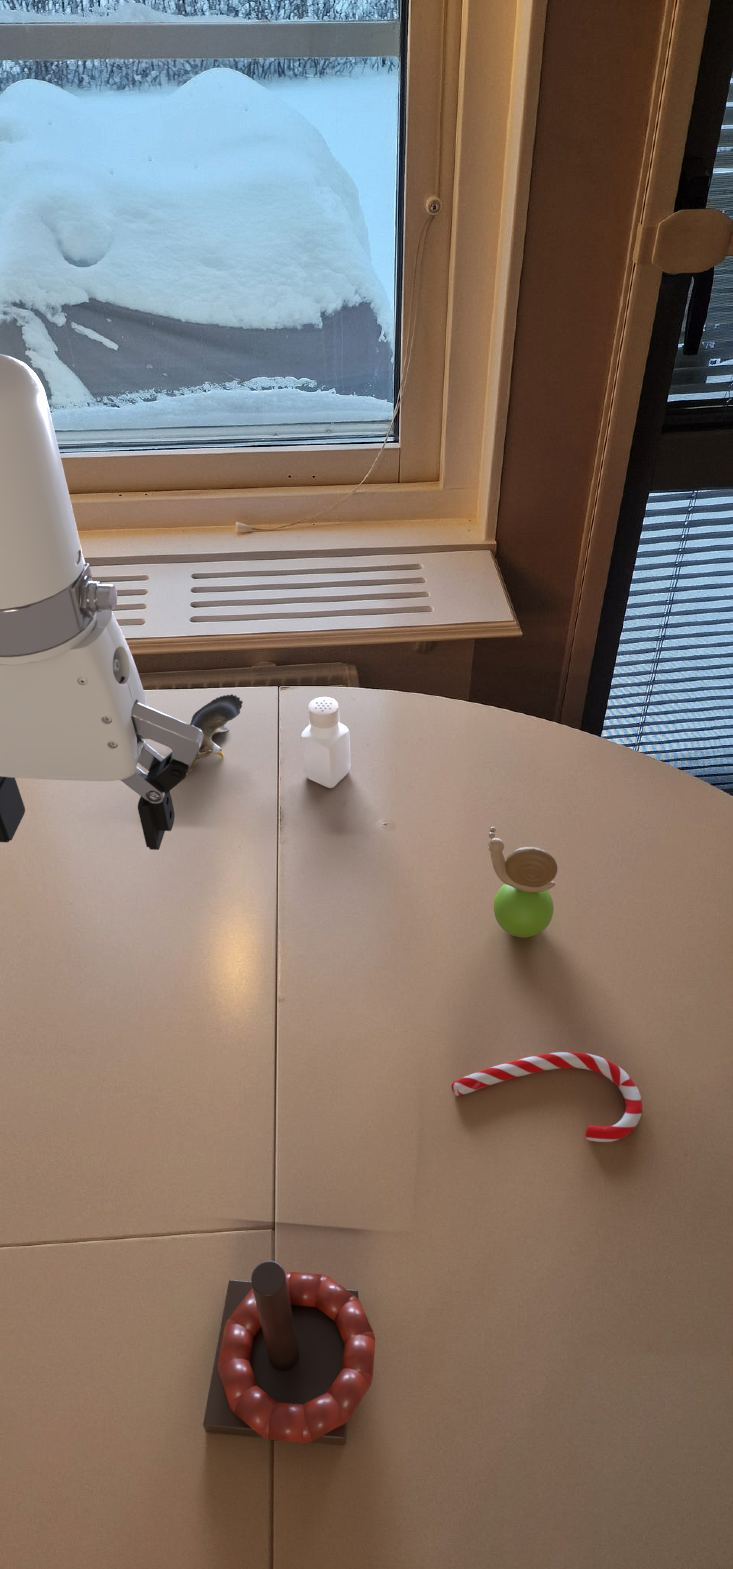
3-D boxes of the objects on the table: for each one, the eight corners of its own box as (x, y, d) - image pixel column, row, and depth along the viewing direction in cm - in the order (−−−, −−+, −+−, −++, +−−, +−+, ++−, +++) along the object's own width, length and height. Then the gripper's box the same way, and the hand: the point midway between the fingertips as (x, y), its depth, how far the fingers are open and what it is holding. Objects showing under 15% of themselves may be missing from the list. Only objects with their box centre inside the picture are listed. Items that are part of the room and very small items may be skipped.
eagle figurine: (235, 775, 111) (259, 713, 117) (190, 734, 107) (217, 672, 113) (187, 789, 116) (213, 729, 121) (142, 750, 112) (171, 690, 117)
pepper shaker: (302, 778, 113) (296, 709, 106) (323, 758, 115) (319, 689, 109) (331, 791, 111) (327, 722, 104) (353, 771, 113) (350, 702, 107)
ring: (207, 1437, 65) (203, 1427, 63) (236, 1274, 72) (233, 1262, 71) (367, 1453, 64) (366, 1442, 62) (380, 1286, 71) (379, 1274, 70)
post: (205, 1432, 66) (174, 1354, 57) (231, 1287, 73) (207, 1196, 64) (345, 1445, 65) (336, 1368, 56) (358, 1298, 72) (353, 1208, 63)
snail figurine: (484, 899, 99) (492, 808, 91) (552, 908, 98) (566, 817, 90) (477, 943, 95) (485, 852, 87) (548, 953, 94) (562, 862, 86)
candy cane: (450, 1048, 85) (633, 1049, 85) (449, 1057, 86) (630, 1058, 86) (454, 1135, 80) (650, 1136, 79) (453, 1143, 80) (647, 1145, 80)
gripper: (194, 570, 57) (228, 797, 69) (-106, 562, 59) (-23, 786, 70) (162, 648, 52) (205, 880, 63) (-168, 637, 53) (-67, 866, 65)
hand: (85, 830), depth 67 cm, fingers open, 9 cm apart
